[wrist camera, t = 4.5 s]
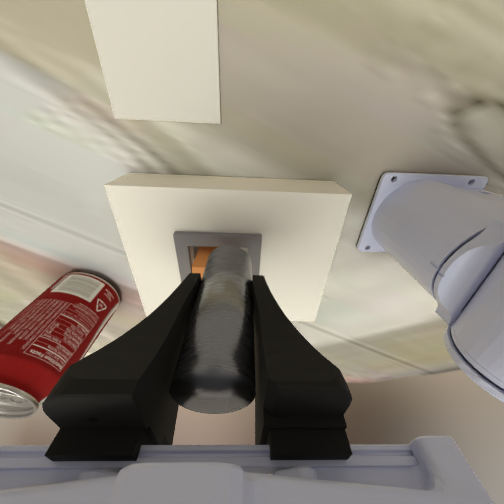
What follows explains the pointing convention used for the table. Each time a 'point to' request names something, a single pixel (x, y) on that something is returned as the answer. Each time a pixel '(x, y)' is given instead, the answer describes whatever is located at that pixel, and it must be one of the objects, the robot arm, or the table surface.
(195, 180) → the box
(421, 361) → the table surface
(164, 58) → the mat
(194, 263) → the button
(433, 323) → the table surface
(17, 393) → the soda can
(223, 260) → the gray metal cylinder
